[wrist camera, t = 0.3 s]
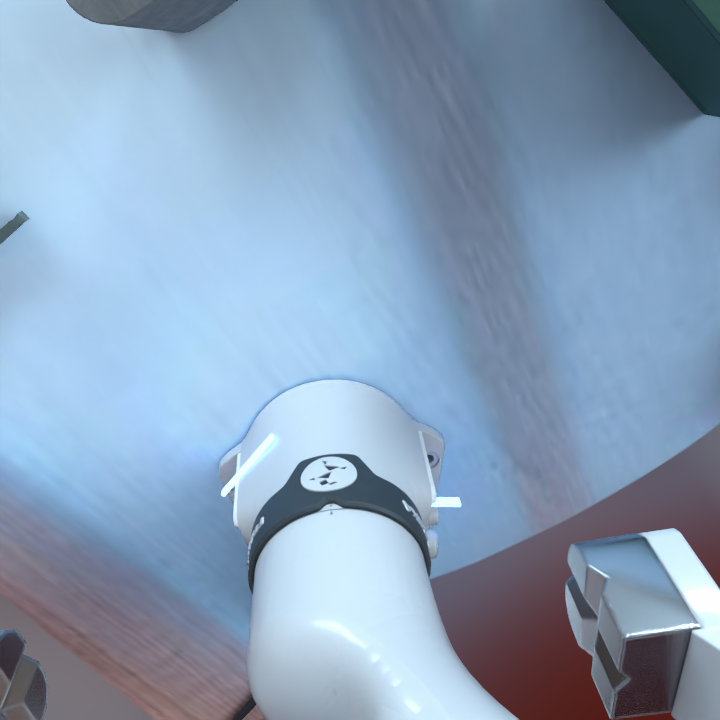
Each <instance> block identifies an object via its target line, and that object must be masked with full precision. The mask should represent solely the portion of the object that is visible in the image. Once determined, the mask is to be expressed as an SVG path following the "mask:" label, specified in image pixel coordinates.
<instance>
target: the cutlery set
mask: <svg viewBox="0 0 720 720" xmlns="http://www.w3.org/2000/svg"><path fill="white" fill-rule="evenodd" d="M28 219H30V218H29V217H28V216H27V215H26V214H25V213H24V212H23V211H21V212H19V213H18V214H17V215H16V216H15V218H14V219H13V220H11V221H10V222H9V223H7V224H6V225H5V226H4V227H3V228H2V229H1V230H0V244H1V243H2V242H3V241H4V240H5V239H6V238H8V237H9V236H10V235H11V234H12V233H13V232H14V231H15V230H17V229H18V228H19V227H20V226H21V225H22V224H23V223H24V222H25V221H27V220H28Z"/></svg>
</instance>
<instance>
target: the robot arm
mask: <svg viewBox="0 0 720 720" xmlns="http://www.w3.org/2000/svg"><path fill="white" fill-rule="evenodd" d="M444 449H445V445H444V439H443V436H442V435H441V434H440V433H439V432H438V431H436V430H435V429H433V428H431V427H429V426H427V425H424V424H422V423H419V422H417V421H415V420H414V419H412V418H411V417H410V416H409V415H408V414H407V413H406V412H405V411H404V410H403V408H402V407H401V406H400V405H399V404H398V403H397V402H396V401H394V400H393V399H392V398H391V397H389V396H388V395H386V394H385V393H383V392H382V391H380V390H378V389H376V388H374V387H371V386H369V385H366V384H363V383H359V382H355V381H349V380H338V379H331V380H319V381H314V382H309V383H306V384H302V385H299V386H297V387H294V388H292V389H290V390H288V391H286V392H284V393H282V394H281V395H279V396H278V397H276V398H275V399H274V400H272V401H271V402H270V403H269V404H268V405H267V406H266V407H265V408H264V409H263V410H262V411H261V412H260V413H259V415H258V416H257V417H256V419H255V421H254V422H253V424H252V426H251V428H250V430H249V432H248V434H247V435H246V437H245V438H244V440H243V441H242V442H241V443H240V444H238V445H237V446H236V447H234V448H233V449H232V450H230V451H229V452H228V453H227V454H226V455H225V456H224V457H223V458H222V459H221V460H220V463H219V476H220V478H221V480H222V482H223V485H224V488H223V489H222V492H221V495H222V496H223V497H225V496H226V494H227V493H228V495H229V497H230V499H231V501H232V503H233V505H234V510H233V522H234V526H235V527H238V528H240V531H241V534H242V536H243V538H244V540H245V542H246V543H247V545H248V547H249V548H248V557H247V565H248V578H249V586H250V589H251V592H252V595H253V597H252V607H251V618H250V629H249V640H248V651H247V661H246V670H247V677H248V683H249V687H250V690H251V693H252V696H253V697H252V698H251V699H250V700H249V701H248V702H247V703H246V704H245V705H244V706H243V708H242V709H241V710H240V711H239V712H238V713H237V714H236V716H235V717H234V718H233V720H242V719H243V718H244V717H245V716H246V715H247V714H248V713H249V712H250V711H251V710H252V709H253V708H254V706H255V705H256V704H257V706H258V708H259V710H260V712H261V713H262V714H263V716H264V717H265V718H266V719H267V720H519V719H518V718H516V717H515V716H514V715H513V714H512V713H510V712H509V711H508V710H506V709H505V708H504V707H503V706H502V705H501V704H500V703H498V702H497V701H496V700H495V699H494V698H493V697H492V696H491V695H490V694H489V693H488V692H487V691H486V690H485V689H484V688H483V687H482V686H481V685H480V684H479V683H478V682H477V681H476V679H475V678H474V677H473V676H472V675H471V674H470V673H469V671H468V670H467V669H466V667H465V666H464V665H463V664H462V662H461V661H460V659H459V658H458V656H457V654H456V653H455V651H454V649H453V648H452V646H451V643H450V641H449V639H448V636H447V634H446V631H445V628H444V625H443V623H442V620H441V617H440V614H439V611H438V608H437V605H436V602H435V598H434V595H433V591H432V588H431V584H430V581H429V576H430V568H431V561H430V558H436V556H437V553H438V539H437V533H436V531H435V530H433V529H430V525H437V524H438V510H437V508H436V507H461V502H460V499H459V497H436V493H437V487H438V482H439V477H440V471H441V466H442V460H443V455H444ZM427 455H432V456H431V457H430V458H428V456H427ZM568 563H569V566H570V568H571V570H572V572H573V575H572V576H571V577H570V578H569V579H568V580H567V581H566V593H565V594H566V596H565V598H566V604H567V611H568V616H569V619H570V623H571V626H572V629H573V632H574V634H575V637H576V639H577V642H578V644H579V646H580V647H581V648H582V649H584V650H585V651H587V652H588V653H589V654H590V655H592V656H593V665H592V673H591V675H592V678H593V680H594V682H595V684H596V687H597V689H598V691H599V694H600V696H601V698H602V701H603V703H604V705H605V708H606V710H607V712H608V715H609V717H610V719H619V718H628V717H636V716H643V715H651V714H659V713H667V712H672V714H671V716H672V717H674V718H675V719H676V720H720V589H719V588H718V586H717V585H716V583H715V582H714V580H713V579H712V577H711V576H710V574H709V573H708V572H707V570H706V569H705V567H704V566H703V564H702V563H701V561H700V560H699V559H698V557H697V556H696V554H695V553H694V551H693V550H692V548H691V547H690V546H689V544H688V543H687V541H686V540H685V538H684V537H683V536H682V534H681V533H680V532H678V531H677V530H675V529H674V528H673V529H665V530H659V531H652V532H645V533H640V534H636V533H634V534H628V535H622V536H616V537H611V538H604V539H598V540H591V541H585V542H580V543H573V544H572V545H571V546H570V548H569V552H568ZM26 644H27V643H26V641H25V640H24V638H23V637H22V635H21V634H20V633H19V631H18V630H17V629H12V630H3V631H0V720H43V718H44V715H45V712H46V708H47V694H48V684H47V680H46V676H45V672H44V670H43V668H42V667H41V665H40V663H39V662H38V661H36V660H34V659H32V658H30V657H28V656H26V655H24V654H23V652H24V649H25V646H26Z"/></svg>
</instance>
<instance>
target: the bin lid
mask: <svg viewBox="0 0 720 720" xmlns="http://www.w3.org/2000/svg"><path fill="white" fill-rule="evenodd" d="M684 1H685V2H686V3H687V4H688V5H689V7H690V8H691V9H692V10H693V11H694V13H695V14H696V15H697V16H698V18H699V19H700V20H701V21H702V22H703V24H704V25H705V26H706V27H707V28H708V30H709V31H710V32H711V33H712V35H713V36H714V37H715V38H716V39H717V41H718V42H719V43H720V0H684Z"/></svg>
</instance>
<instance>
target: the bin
mask: <svg viewBox="0 0 720 720" xmlns="http://www.w3.org/2000/svg"><path fill="white" fill-rule="evenodd" d="M604 1H605V2H606V3H607V4H608V6H609V7H610V8H611V9H612V10H613V11H614V12H615V14H616V15H617V16H618V17H619V18H620V19H621V20H622V21H623V23H624V24H625V25H626V26H627V27H628V28H629V29H630V31H631V32H632V33H633V34H634V35H635V36H636V37H637V39H638V40H639V41H640V42H641V43H642V44H643V45H644V46H645V48H646V49H647V50H648V51H649V52H650V53H651V54H652V56H653V57H654V58H655V59H656V60H657V61H658V62H659V63H660V65H661V66H662V67H663V68H664V69H665V70H666V71H667V73H668V74H669V75H670V76H671V77H672V78H673V79H674V81H675V82H676V83H677V84H678V85H679V86H680V87H681V88H682V90H683V91H684V92H685V93H686V94H687V95H688V96H689V98H690V99H691V100H692V101H693V102H694V103H695V104H696V105H697V107H698V108H699V109H700V110H701V111H702V112H703V113H704V114H705V115H711V116H717V117H720V43H719V42H718V41H717V39H716V38H715V37H714V36H713V35H712V33H711V32H710V31H709V30H708V28H707V27H706V26H705V25H704V24H703V22H702V21H701V20H700V19H699V18H698V16H697V15H696V14H695V13H694V11H693V10H692V9H691V8H690V7H689V5H688V4H687V3H686V2H685V1H684V0H604Z"/></svg>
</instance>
